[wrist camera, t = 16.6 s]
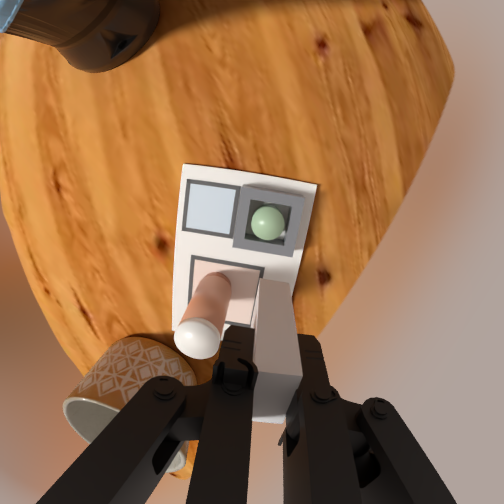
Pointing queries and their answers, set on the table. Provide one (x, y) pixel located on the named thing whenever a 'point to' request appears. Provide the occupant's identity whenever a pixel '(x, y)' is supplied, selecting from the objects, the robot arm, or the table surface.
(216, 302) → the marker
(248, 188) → the button housing
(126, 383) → the planter
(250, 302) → the sheet
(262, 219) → the button
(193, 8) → the table surface
